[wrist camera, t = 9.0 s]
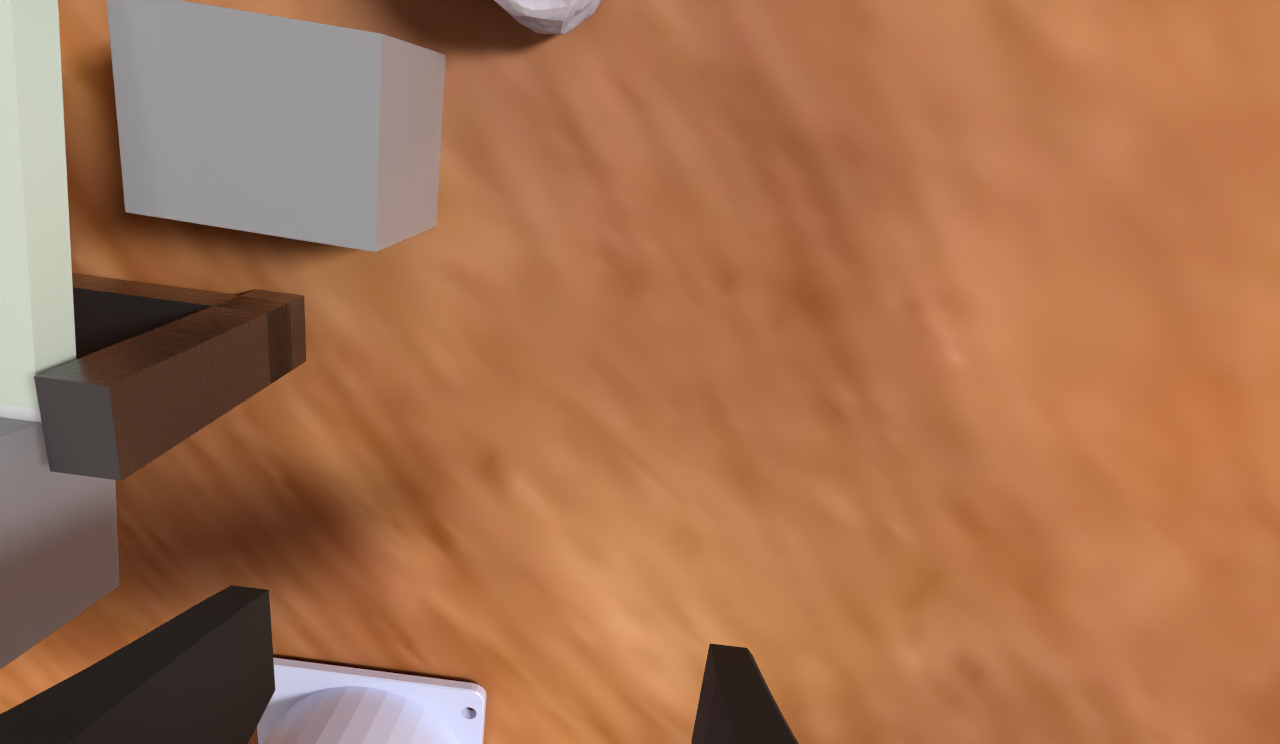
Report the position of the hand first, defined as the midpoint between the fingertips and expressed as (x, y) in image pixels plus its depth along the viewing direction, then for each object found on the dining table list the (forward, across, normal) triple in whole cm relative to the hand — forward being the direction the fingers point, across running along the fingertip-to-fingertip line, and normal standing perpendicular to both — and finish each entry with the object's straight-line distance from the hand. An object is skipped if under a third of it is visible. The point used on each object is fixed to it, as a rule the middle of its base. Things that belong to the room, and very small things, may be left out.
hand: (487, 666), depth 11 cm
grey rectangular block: (+8, +10, -8) cm, 15 cm away
